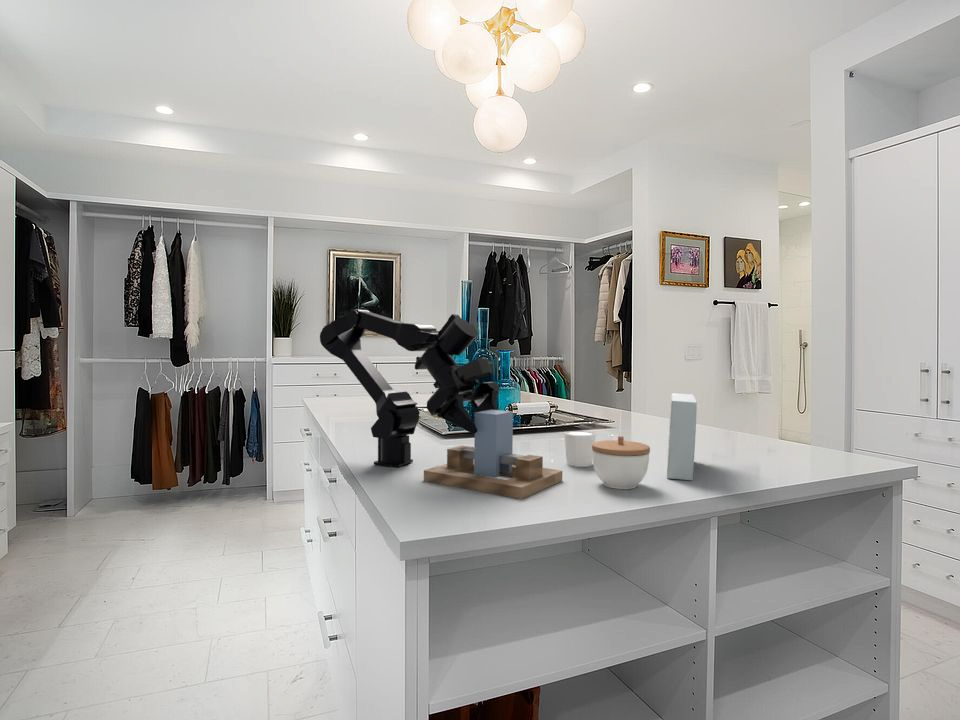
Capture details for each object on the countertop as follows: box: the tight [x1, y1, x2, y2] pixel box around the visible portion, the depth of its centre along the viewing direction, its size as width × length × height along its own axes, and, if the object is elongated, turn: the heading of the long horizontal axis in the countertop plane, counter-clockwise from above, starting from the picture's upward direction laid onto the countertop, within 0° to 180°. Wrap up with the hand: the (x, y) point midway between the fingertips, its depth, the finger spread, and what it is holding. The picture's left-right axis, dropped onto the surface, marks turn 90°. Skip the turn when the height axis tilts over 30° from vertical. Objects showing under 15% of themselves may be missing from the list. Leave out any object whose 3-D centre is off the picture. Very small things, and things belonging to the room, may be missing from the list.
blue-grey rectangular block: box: [473, 409, 514, 478], centre depth 110 cm, size 6×5×12 cm
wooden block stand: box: [423, 445, 563, 500], centre depth 110 cm, size 22×16×6 cm
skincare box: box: [666, 392, 698, 481], centre depth 122 cm, size 21×6×16 cm, turn 161°
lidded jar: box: [592, 435, 651, 490], centre depth 108 cm, size 11×11×9 cm
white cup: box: [564, 430, 596, 468], centre depth 126 cm, size 7×7×7 cm
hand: (489, 429), depth 111 cm, fingers open, 9 cm apart
